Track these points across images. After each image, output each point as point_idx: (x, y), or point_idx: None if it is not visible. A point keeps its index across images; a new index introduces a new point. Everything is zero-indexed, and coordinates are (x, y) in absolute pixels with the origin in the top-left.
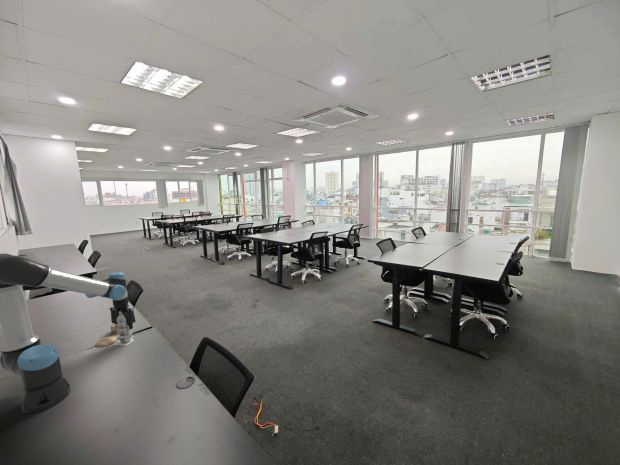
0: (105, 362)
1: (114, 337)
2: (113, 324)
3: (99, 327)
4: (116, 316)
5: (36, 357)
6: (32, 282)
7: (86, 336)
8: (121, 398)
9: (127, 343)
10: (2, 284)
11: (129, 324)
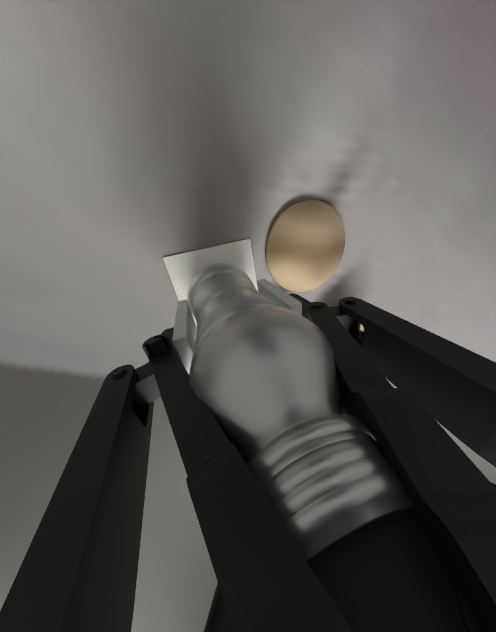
0: (66, 20)
1: (299, 286)
2: None
3: (414, 315)
4: (354, 360)
5: None
6: None
7: (420, 254)
8: None
9: (184, 273)
10: None
11: (147, 351)
